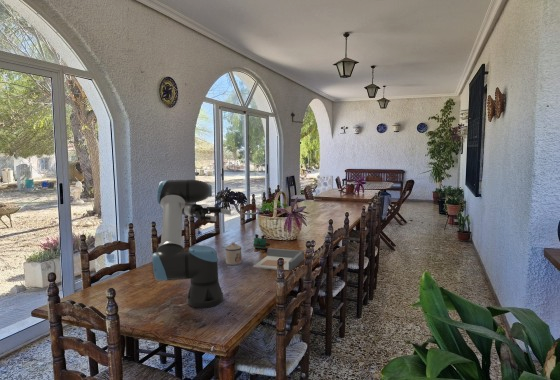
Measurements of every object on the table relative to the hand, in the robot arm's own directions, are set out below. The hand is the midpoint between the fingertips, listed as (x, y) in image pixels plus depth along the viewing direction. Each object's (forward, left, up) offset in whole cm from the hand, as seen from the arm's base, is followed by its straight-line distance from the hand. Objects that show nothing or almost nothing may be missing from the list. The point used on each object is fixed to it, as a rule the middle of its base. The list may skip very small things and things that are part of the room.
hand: (223, 215), depth 214 cm
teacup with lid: (+1, -6, -27) cm, 28 cm away
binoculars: (+28, -11, -27) cm, 41 cm away
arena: (+6, -31, -27) cm, 41 cm away
